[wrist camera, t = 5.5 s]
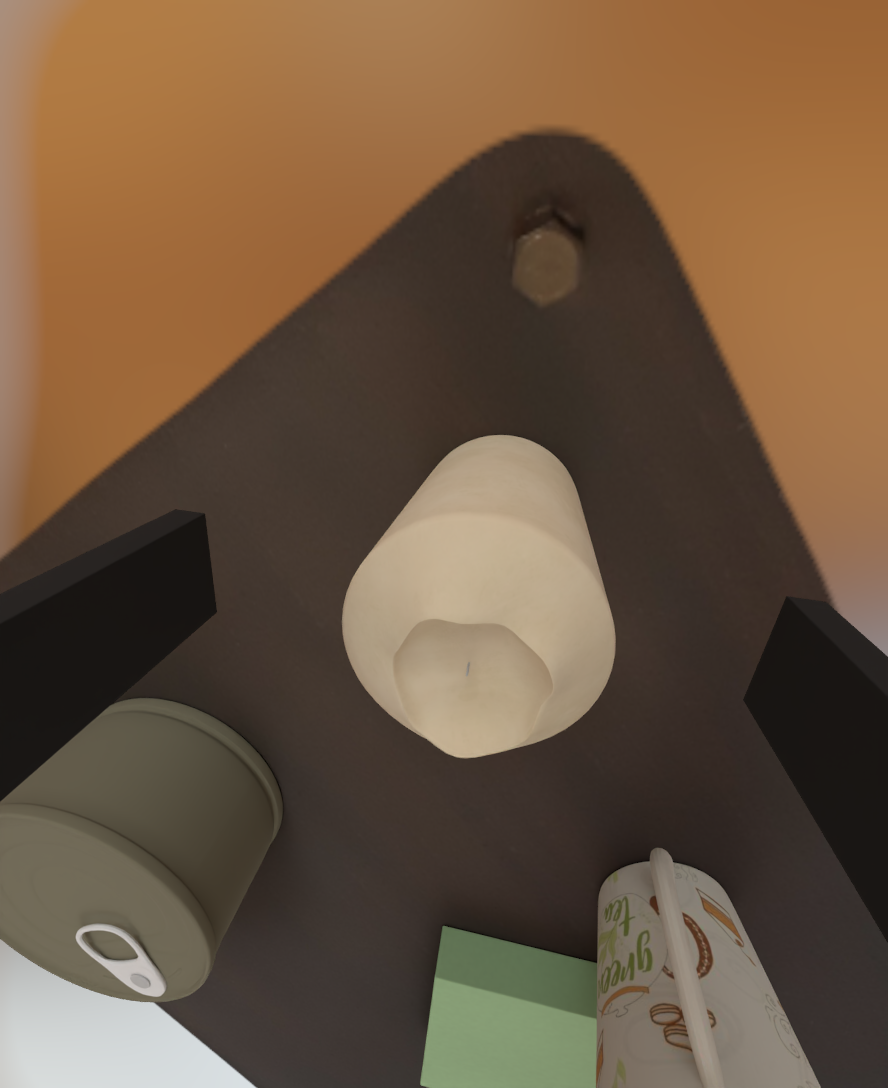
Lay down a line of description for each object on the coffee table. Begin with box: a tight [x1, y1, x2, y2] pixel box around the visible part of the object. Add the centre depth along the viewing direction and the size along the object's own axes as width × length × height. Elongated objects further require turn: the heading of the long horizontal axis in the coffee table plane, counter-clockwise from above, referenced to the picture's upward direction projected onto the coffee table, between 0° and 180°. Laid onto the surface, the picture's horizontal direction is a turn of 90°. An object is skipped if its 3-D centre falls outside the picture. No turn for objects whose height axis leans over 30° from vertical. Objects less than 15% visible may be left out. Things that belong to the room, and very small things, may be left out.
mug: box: [596, 848, 821, 1088], centre depth 19 cm, size 8×13×10 cm, turn 19°
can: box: [0, 698, 283, 1002], centre depth 23 cm, size 12×12×7 cm
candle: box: [342, 435, 616, 758], centre depth 13 cm, size 6×6×10 cm
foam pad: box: [420, 926, 597, 1088], centre depth 28 cm, size 12×12×2 cm
